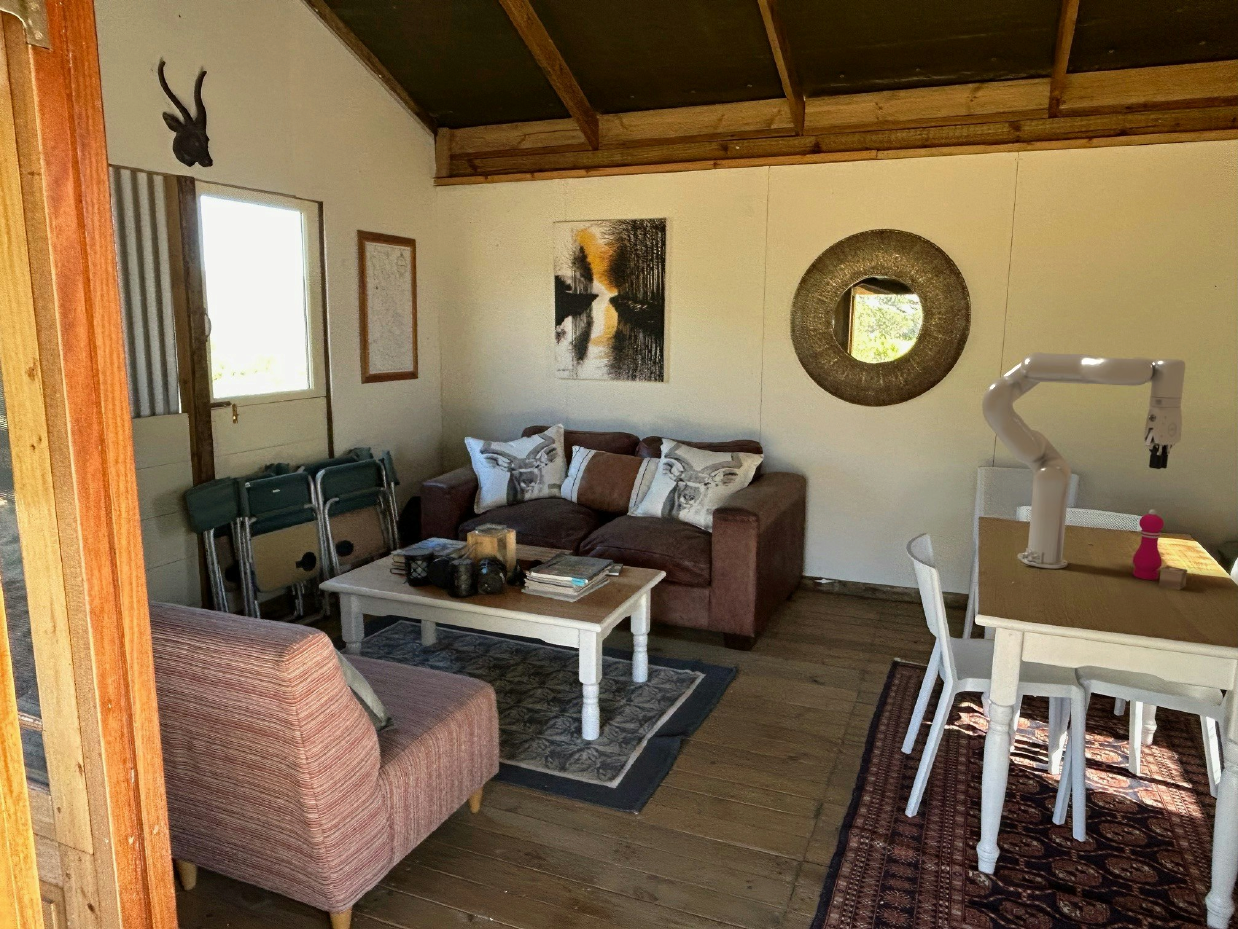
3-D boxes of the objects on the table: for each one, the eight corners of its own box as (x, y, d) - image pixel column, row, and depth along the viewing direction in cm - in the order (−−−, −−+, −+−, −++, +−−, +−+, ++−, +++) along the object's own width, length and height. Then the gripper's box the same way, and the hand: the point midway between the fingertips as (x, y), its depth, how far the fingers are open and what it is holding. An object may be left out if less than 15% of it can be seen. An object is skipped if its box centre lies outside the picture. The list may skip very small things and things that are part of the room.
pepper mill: (1164, 581, 248) (1172, 512, 244) (1136, 579, 249) (1144, 511, 246) (1154, 573, 255) (1161, 507, 251) (1127, 572, 256) (1134, 506, 253)
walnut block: (1179, 590, 240) (1181, 572, 239) (1159, 586, 244) (1161, 568, 243) (1185, 587, 243) (1187, 569, 242) (1165, 582, 247) (1167, 565, 246)
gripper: (1160, 405, 237) (1153, 472, 240) (1196, 403, 244) (1188, 468, 247) (1134, 403, 243) (1127, 467, 247) (1169, 401, 250) (1162, 464, 253)
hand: (1157, 467), depth 247 cm, fingers closed
